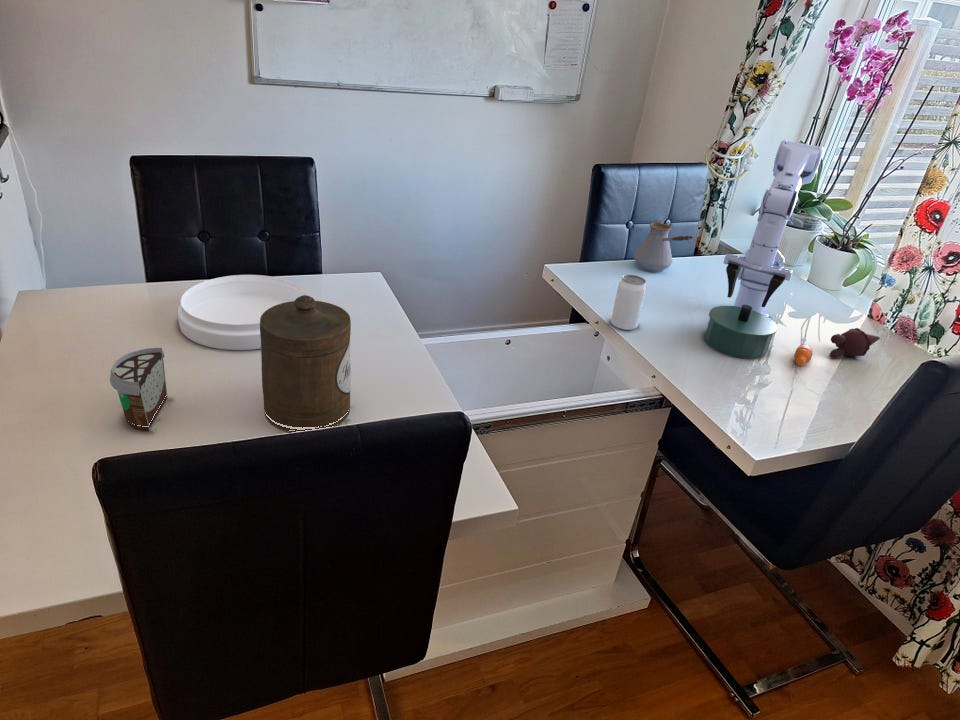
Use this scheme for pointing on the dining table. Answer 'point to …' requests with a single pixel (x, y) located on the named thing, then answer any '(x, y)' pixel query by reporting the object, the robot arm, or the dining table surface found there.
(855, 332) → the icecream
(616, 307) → the can
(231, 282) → the plate
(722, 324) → the pot lid
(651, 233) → the coffee pot
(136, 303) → the dining table surface
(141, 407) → the food container
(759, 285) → the robot arm
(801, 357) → the carrot
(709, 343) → the pot
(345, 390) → the wooden container
